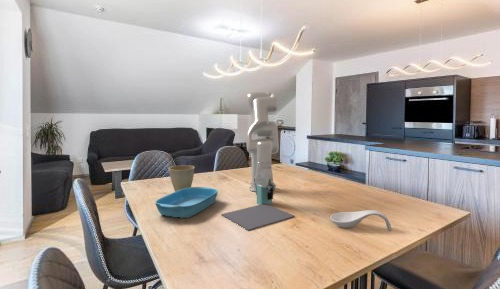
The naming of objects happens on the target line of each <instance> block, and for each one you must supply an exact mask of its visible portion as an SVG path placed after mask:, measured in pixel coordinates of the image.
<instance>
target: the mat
mask: <svg viewBox="0 0 500 289" xmlns="http://www.w3.org/2000/svg"><path fill="white" fill-rule="evenodd" d="M221 216H222V217H224V218H225V219H226V220H229V221H230V220H231V221H230V222H232V223H234V224H235V223H236V224H235V225H237V224H238V225H237V226H239V227H240V226H241V228H242V227H243V228H242V229H244V228H245V229H244V230H246V231H247V230H248V232H250V231H253V230H257V229H260V228H263V227H266V225H267V226H270V225H273V224H276V223H280V222H283V221H286V220H290V219H293V218H296V216H295V215H294V214H292V213H289V212H287V211H284V210H282V209H280V208H277V207H275V206H273V205H270V204H261V205H259V204H257V205H253V206H249V207H245V208H240V209H237V210H232V211H228V212H225V213H222V214H221ZM269 224H270V225H269ZM262 226H263V227H262ZM259 227H260V228H259ZM256 228H257V229H256ZM252 229H253V230H252ZM249 230H250V231H249Z"/></svg>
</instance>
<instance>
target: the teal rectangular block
mask: <svg viewBox="0 0 500 289" xmlns="http://www.w3.org/2000/svg"><path fill="white" fill-rule="evenodd" d="M269 189H271V188H269ZM267 192H268V190H267V188H263V187H262V186H261V185H257V195H256V204H257V205H261V204H268V205H270V204H272V203H273V199H271V200H268V199H267Z"/></svg>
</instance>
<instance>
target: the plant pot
mask: <svg viewBox="0 0 500 289" xmlns="http://www.w3.org/2000/svg"><path fill="white" fill-rule="evenodd" d="M195 168H196V167H195V166H194V165H189V164H188V165H187V164H180V165H173V166H169V167H168V173H169V176H170V182H171V185H172V187H173V190H174V192H176V191H178V190H181V189H184V188H188V187H192V185H193V181H194V175H195Z"/></svg>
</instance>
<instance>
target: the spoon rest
mask: <svg viewBox="0 0 500 289" xmlns="http://www.w3.org/2000/svg"><path fill="white" fill-rule="evenodd" d="M369 216H378V217H379V218H381V219H383V220H384V221H385V225H386V229H387V231H389V232H391V231H392V225H391V222H390V220H389V218H388V217H387V216H386V214H384V213H382V212H380V211H378V210H374V209H369V210H367V209H365V210H360V211H343V212H342V211H340V212H335V213H333V214H331V215H330V217H329V218H330V220H331V222H332V223H333V224H334V225H336V226H337V227H340V228H342V229H351V228H354V227H356V225H358V224H359V223H360V222H361V221H363V220H364V219H366V218H367V217H369Z"/></svg>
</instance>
